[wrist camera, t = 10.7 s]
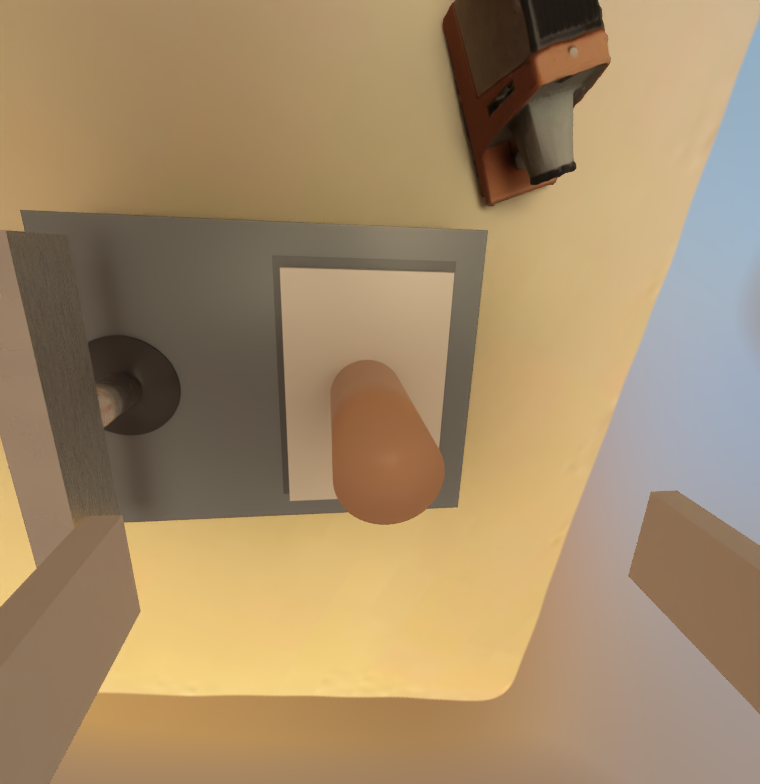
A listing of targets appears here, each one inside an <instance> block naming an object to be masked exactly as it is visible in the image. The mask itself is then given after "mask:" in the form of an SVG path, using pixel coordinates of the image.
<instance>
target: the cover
mask: <svg viewBox="0 0 760 784" xmlns="http://www.w3.org/2000/svg"><path fill="white" fill-rule="evenodd" d="M280 285H281V308H282V331H283V354H284V377H285V400H286V423H287V446H288V468H289V491H290V501H302V500H326V499H338V500H339V502H340V503H341V505H342V506H343V507H344V508H345V509H346V510H347V511H348V512H349V513H350V514H352V515H353V516H355V517H356V518H358V519H360V520H363V521H365V522H369V523H373V524H383V525H388V524H396V523H400V522H404V521H407V520H409V519H411V518H414V517H415V516H417V515H419V514H420V513H422V512H423V511H424V510H426V509H427V508H428V507H429V506H430V505H431V504H432V503H433V501H434V500H435V499H436V497H437V496H438V494H439V492H440V490H441V488H442V485H443V481H444V476H445V466H444V460H443V457H442V454H441V452H440V450H439V445H440V433H441V422H442V410H443V399H444V387H445V376H446V365H447V353H448V342H449V330H450V319H451V307H452V296H453V285H454V273H452V272H446V271H413V270H379V269H346V268H313V267H280Z"/></svg>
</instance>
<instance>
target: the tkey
mask: <svg viewBox="0 0 760 784" xmlns="http://www.w3.org/2000/svg"><path fill="white" fill-rule="evenodd" d="M140 394H141V389H140V386H139V384H138V382H137V381H136V380H135V379H134V378H133V377H132V376H130V375H128V374H126V373H123V372H113V373H110V374H108V375H106V376H104V377H103V378H101V379H99V380H97V381H95V379H94V373H93V368H92V363H91V357H90V352H89V347H88V341H87V336H86V330H85V325H84V320H83V314H82V309H81V304H80V298H79V293H78V287H77V282H76V277H75V271H74V266H73V261H72V255H71V250H70V244H69V239H68V235H62V234H48V233H34V232H20V231H6V230H0V436H1V440H2V444H3V447H4V451H5V455H6V458H7V462H8V465H9V469H10V473H11V476H12V480H13V484H14V487H15V491H16V495H17V498H18V502H19V505H20V509H21V513H22V516H23V520H24V524H25V527H26V531H27V535H28V538H29V542H30V545H31V549H32V553H33V556H34V560H35V564H36V567H37V568H38V567H39V566H40V564H41V563H42V562H43V561H44V560H45V559H46V558H47V557H48V556H49V555H50V554H51V553H52V552H53V551H54V550H55V548H56V547H57V546H58V545H59V544H60V543H61V542H62V541H63V540H64V539H65V538H66V537H67V536H68V535H69V534H70V532H71V531H72V530H73V529H74V528H75V527H76V526H77V525H78V524H79V523H80V522H81V521H82V520H83V519H84V517H87V516H110V515H120V513H119V508H118V502H117V497H116V492H115V486H114V481H113V476H112V470H111V465H110V459H109V454H108V449H107V443H106V438H105V433H104V427H105V426H107V425H108V424H109V423H110V422H112V421H113V420H114V419H116V418H117V417H118V416H119V415H121V414H122V413H123V412H125V411H126V410H127V409H128V408H130V407H131V406H132V405H134V404H135V403H136V402H137V401H138V400H139V398H140Z"/></svg>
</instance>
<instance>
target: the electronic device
mask: <svg viewBox="0 0 760 784" xmlns="http://www.w3.org/2000/svg"><path fill="white" fill-rule="evenodd" d="M443 26H444V32H445V35H446V38H447V42H448V46H449V51H450V55H451V59H452V62H453V66H454V71H455V77H456V83H457V89H458V94H459V95H460V99H461V108H462V112H463V116H464V120H465V124H466V128H467V134H468V137H469V139H470V143H471V146H472V150H473V154H474V164H475V166H476V169H477V175H478V178H479V182H480V188H481V195H482V197H483V198H485V202H486V205H488V206H493V205H494V204H495V203H498V202H501V201H504V200H507V199H509V198H512V197H515V196H518V195H521V194H524V193H526V192H529V191H532V190H535V189H537V188H540V187H543V186H547V185H553V184H554V183H555V182H556V180H557V178H558V177H560V176H561V175H563V174H565V173H568V172H572V171H574V170H575V169H576V164H575V162H574V159H573V108H574V107H575V105H576V104H577V103H578V102H580V101H581V99H582V98H583V97H584V95H585V94H586V93H587V91H588V90H589V89H591V88H592V86H593V85H594V84H595V82H596V81H597V79H598V78H599V77H600V76H601V75H602V73H603V72H604V71H605V69H606V68H607V67H608V65H609V64H610V60H611V58H610V56H609V51H608V44H607V43H608V35H607V34H606V33H605V29H604V23H603V20H602V9H601V7H600V5H599V2H598V0H456V1H455V2H454V3H452V5H451V6H450V8H449V10H448V12H447V14H446V16H445V18H444V20H443Z"/></svg>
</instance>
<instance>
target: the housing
mask: <svg viewBox="0 0 760 784" xmlns="http://www.w3.org/2000/svg"><path fill="white" fill-rule="evenodd" d="M20 211H21V216H22V220H23V225H24V229H25V232H34V233H48V234H62V235H68V239H69V244H70V250H71V255H72V261H73V266H74V271H75V277H76V282H77V287H78V293H79V298H80V304H81V309H82V314H83V320H84V325H85V330H86V336H87V341H88V347H89V352H90V357H91V363H92V368H93V373H94V379H95V381H97V380H99V379H101V378H103V377H104V376H106V375H108V374H110V373H113V372H123V373H126V374H128V375H130V376H132V377H133V378H134V379H135V380H136V381H137V382H138V384H139V386H140V389H141V394H140V398H139V400H138V401H137V402H136V403H135V404H134V405H132V406H131V407H130V408H128V409H127V410H126V411H125V412H123V413H122V414H121V415H119V416H118V417H117V418H116V419H114V420H113V421H112V422H110V423H109V424H108V425H107V426H105V427H104V433H105V438H106V443H107V449H108V454H109V459H110V465H111V470H112V476H113V481H114V486H115V492H116V497H117V502H118V508H119V513H120V515H122V516H123V522H145V521H167V520H189V519H211V518H233V517H255V516H277V515H299V514H321V513H343V512H348V511H347V510H346V509H345V508H344V507H343V506H342V505H341V503H340V502H339V500H338V499H326V500H302V501H290V491H289V468H288V446H287V423H286V400H285V377H284V354H283V331H282V308H281V285H280V267H313V268H346V269H379V270H413V271H446V272H452V273H454V285H453V296H452V307H451V319H450V330H449V342H448V353H447V365H446V376H445V387H444V399H443V410H442V422H441V433H440V445H439V450H440V452H441V454H442V457H443V460H444V466H445V476H444V481H443V485H442V488H441V490H440V492H439V494H438V496H437V497H436V499H435V500H434V501H433V503H432V504H431V505H430V506H429V507H428V508H427V509H431V508H453V507H458V499H459V490H460V481H461V472H462V462H463V453H464V444H465V435H466V426H467V417H468V407H469V398H470V389H471V380H472V371H473V362H474V352H475V343H476V334H477V325H478V316H479V307H480V297H481V288H482V279H483V270H484V261H485V251H486V242H487V233H488V231H486V230H463V229H441V228H418V227H395V226H372V225H349V224H326V223H304V222H281V221H258V220H235V219H212V218H189V217H167V216H144V215H121V214H98V213H75V212H52V211H30V210H20Z"/></svg>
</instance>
